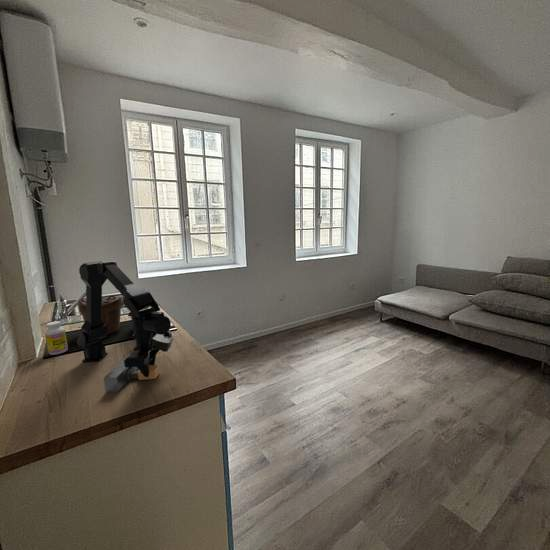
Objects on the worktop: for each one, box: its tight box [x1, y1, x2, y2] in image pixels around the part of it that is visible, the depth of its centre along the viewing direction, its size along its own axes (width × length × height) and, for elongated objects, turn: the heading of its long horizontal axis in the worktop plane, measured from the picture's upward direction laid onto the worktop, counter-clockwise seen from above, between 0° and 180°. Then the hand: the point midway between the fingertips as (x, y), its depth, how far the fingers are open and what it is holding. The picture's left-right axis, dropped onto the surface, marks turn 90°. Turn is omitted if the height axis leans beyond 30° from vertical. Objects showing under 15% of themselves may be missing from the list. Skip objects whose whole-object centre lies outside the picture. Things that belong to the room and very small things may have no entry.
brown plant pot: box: [78, 295, 125, 335], centre depth 142 cm, size 18×20×18 cm
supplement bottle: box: [44, 320, 69, 356], centre depth 119 cm, size 7×7×13 cm
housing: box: [103, 353, 139, 393], centre depth 96 cm, size 4×16×5 cm, turn 2°
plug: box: [125, 364, 161, 382], centre depth 96 cm, size 10×4×3 cm, turn 92°
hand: (149, 373), depth 96 cm, fingers closed on plug, 4 cm apart
